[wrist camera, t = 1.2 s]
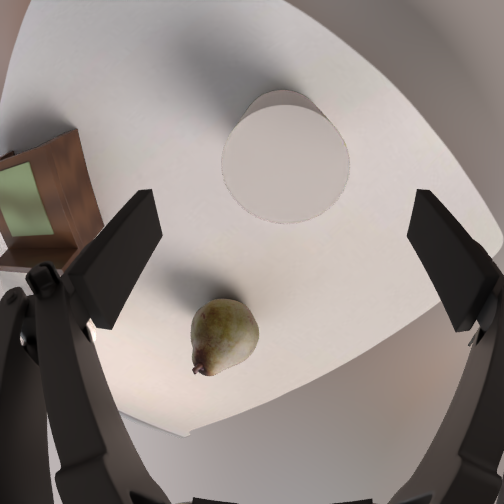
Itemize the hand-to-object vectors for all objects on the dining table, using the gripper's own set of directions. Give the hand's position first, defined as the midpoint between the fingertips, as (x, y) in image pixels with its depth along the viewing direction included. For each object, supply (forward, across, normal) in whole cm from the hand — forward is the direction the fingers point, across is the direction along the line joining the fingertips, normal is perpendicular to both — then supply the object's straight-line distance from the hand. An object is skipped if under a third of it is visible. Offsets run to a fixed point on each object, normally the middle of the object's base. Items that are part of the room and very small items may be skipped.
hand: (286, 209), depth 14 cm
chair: (+17, -32, -4) cm, 36 cm away
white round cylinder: (+17, 0, 0) cm, 17 cm away
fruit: (+18, -8, -26) cm, 32 cm away
